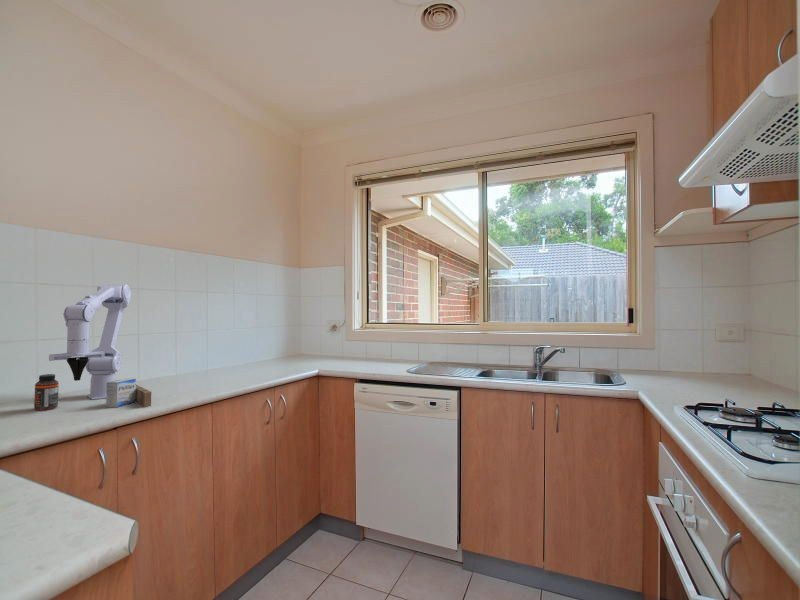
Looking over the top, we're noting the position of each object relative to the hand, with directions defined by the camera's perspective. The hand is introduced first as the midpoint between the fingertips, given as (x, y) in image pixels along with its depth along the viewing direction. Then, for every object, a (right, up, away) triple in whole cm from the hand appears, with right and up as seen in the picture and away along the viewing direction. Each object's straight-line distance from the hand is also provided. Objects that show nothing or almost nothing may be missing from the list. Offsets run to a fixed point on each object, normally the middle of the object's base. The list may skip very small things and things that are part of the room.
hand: (77, 380), depth 133 cm
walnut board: (+15, -10, +9) cm, 20 cm away
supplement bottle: (-9, -10, -1) cm, 13 cm away
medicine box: (+11, -10, +5) cm, 16 cm away
